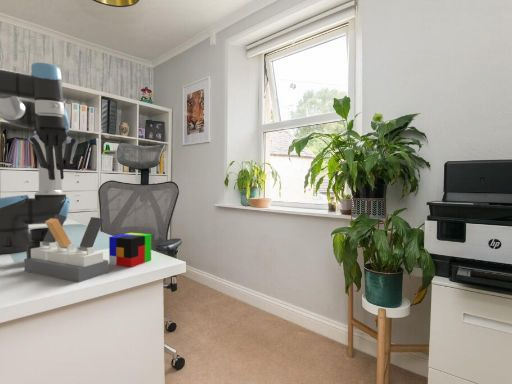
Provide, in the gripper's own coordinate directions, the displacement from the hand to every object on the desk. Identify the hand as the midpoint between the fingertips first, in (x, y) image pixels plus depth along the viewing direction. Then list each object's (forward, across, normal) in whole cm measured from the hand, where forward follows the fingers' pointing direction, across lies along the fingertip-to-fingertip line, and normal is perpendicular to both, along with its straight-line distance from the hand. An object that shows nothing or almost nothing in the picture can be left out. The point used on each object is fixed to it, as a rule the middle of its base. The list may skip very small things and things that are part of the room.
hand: (57, 189), depth 93 cm
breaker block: (+27, -2, -5) cm, 27 cm away
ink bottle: (+28, -1, +16) cm, 32 cm away
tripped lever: (+18, -1, -5) cm, 19 cm away
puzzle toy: (+28, +17, -12) cm, 35 cm away
